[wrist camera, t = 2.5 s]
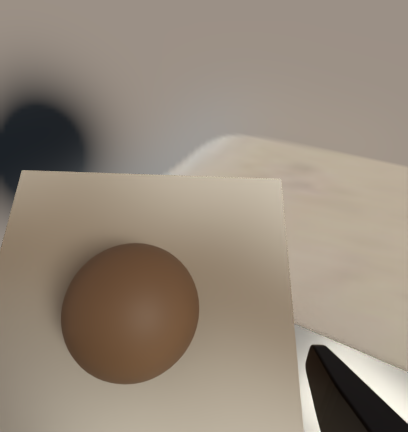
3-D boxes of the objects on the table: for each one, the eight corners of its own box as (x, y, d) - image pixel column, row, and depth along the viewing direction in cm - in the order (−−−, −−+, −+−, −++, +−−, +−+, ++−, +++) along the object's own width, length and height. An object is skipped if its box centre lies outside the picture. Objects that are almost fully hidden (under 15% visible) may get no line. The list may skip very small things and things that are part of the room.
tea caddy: (221, 368, 17) (385, 625, 3) (128, 367, 17) (-249, 638, 2) (220, 275, 19) (313, 127, 4) (137, 274, 18) (-42, 113, 4)
